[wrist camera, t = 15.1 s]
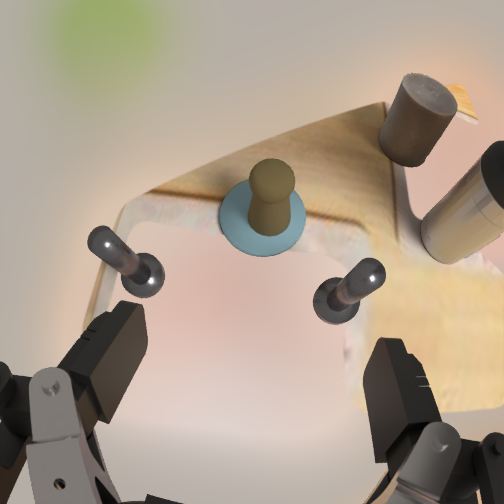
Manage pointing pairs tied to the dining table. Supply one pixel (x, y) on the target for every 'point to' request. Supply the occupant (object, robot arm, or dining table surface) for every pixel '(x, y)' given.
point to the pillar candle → (416, 119)
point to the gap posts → (152, 277)
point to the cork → (270, 197)
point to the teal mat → (245, 236)
